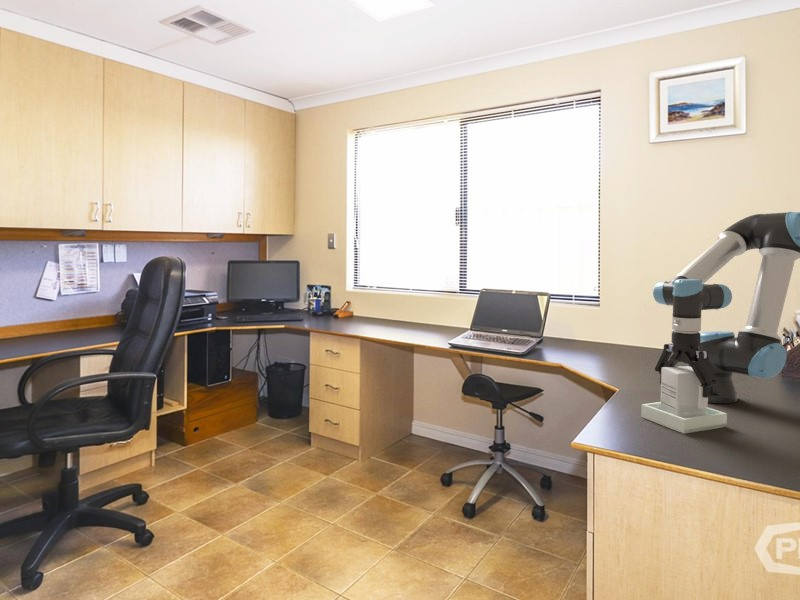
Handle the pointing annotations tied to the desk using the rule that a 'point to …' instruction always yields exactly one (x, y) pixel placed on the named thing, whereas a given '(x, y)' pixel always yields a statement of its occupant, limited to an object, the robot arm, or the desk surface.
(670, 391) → the supplement box
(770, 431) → the desk surface
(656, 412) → the tote
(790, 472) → the desk surface
